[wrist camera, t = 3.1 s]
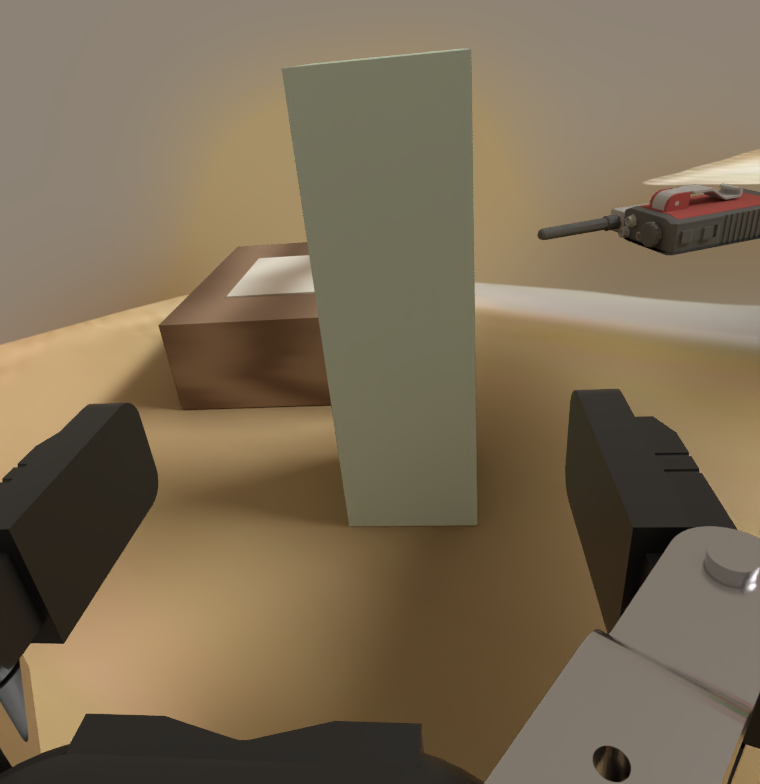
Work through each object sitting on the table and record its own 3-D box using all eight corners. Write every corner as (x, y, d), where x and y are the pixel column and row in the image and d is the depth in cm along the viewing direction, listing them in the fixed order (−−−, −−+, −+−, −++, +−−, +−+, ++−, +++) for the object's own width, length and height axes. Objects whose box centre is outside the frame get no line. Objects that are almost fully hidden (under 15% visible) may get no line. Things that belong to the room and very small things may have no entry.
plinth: (411, 304, 44) (406, 234, 42) (400, 402, 32) (393, 311, 30) (251, 312, 46) (237, 245, 43) (182, 409, 33) (157, 323, 31)
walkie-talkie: (718, 213, 59) (531, 247, 55) (726, 166, 57) (533, 197, 53) (795, 234, 52) (587, 274, 48) (808, 180, 50) (591, 217, 46)
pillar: (471, 450, 28) (464, 48, 20) (477, 525, 23) (471, 49, 16) (363, 453, 28) (315, 63, 21) (349, 526, 24) (281, 67, 16)
